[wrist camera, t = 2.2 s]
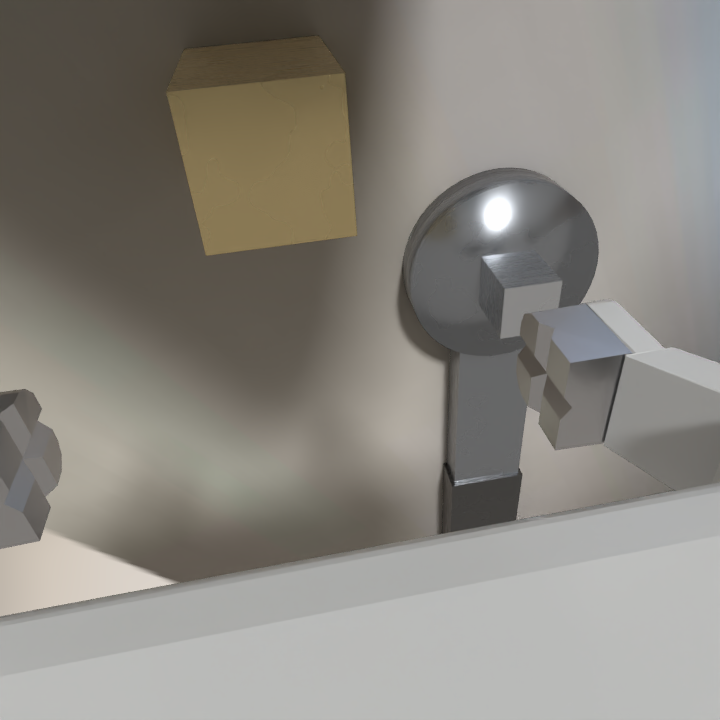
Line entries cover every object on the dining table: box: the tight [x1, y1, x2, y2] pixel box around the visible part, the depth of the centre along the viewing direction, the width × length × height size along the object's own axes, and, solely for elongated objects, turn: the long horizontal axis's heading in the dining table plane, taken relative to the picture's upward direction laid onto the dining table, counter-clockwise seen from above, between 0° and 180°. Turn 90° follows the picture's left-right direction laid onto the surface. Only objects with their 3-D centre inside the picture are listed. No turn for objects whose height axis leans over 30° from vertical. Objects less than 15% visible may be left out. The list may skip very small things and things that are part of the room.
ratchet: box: [403, 168, 598, 534], centre depth 33 cm, size 26×9×5 cm, turn 4°
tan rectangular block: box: [166, 35, 357, 256], centre depth 21 cm, size 5×5×7 cm
